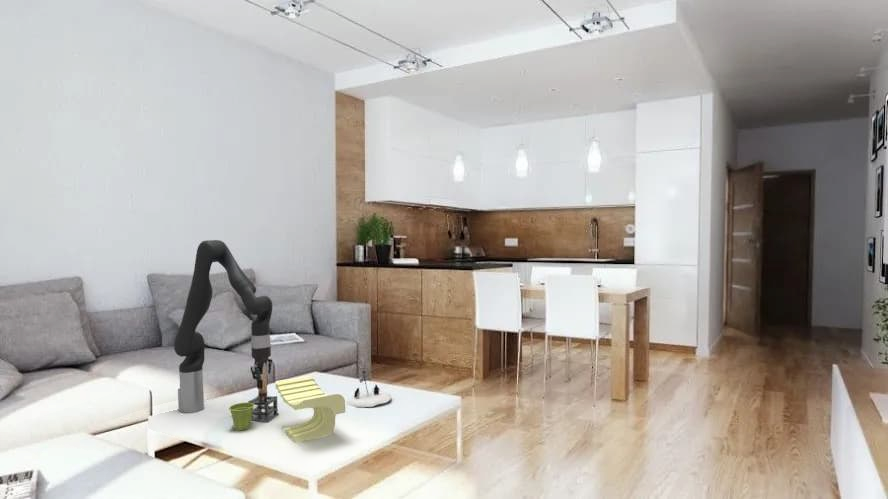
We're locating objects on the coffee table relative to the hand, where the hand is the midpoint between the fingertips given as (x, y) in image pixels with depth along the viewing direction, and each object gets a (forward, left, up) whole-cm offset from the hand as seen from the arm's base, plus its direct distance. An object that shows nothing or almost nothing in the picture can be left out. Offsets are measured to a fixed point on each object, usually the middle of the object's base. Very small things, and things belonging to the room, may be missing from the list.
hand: (262, 386), depth 237 cm
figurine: (+36, +28, -13) cm, 48 cm away
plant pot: (-3, -12, -13) cm, 18 cm away
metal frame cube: (0, 0, -13) cm, 13 cm away
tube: (0, 0, -7) cm, 7 cm away
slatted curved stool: (+26, -12, -13) cm, 32 cm away
